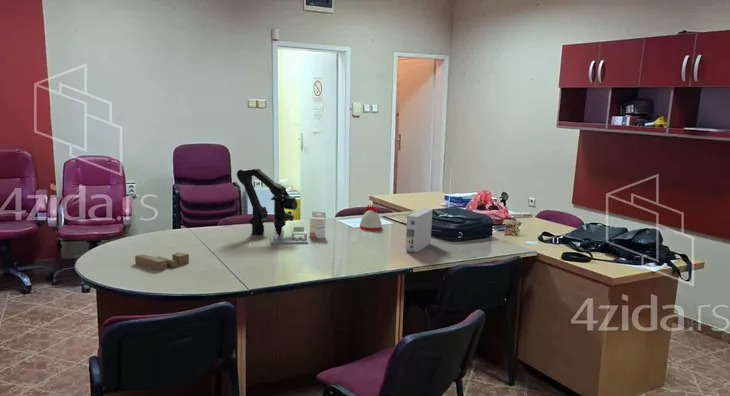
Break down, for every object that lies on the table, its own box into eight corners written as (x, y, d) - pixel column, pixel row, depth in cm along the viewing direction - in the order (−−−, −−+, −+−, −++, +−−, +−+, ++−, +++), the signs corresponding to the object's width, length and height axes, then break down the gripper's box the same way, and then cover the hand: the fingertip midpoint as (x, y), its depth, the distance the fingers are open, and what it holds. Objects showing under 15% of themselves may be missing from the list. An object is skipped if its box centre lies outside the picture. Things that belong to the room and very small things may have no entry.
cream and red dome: (368, 224, 357) (369, 202, 355) (385, 228, 349) (386, 205, 347) (355, 228, 346) (356, 204, 344) (373, 231, 338) (374, 207, 336)
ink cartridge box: (309, 237, 315) (309, 212, 312) (311, 235, 319) (311, 211, 317) (324, 238, 314) (324, 213, 311) (325, 236, 319) (326, 212, 316)
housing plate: (271, 244, 296) (271, 237, 296) (270, 238, 310) (270, 231, 309) (308, 243, 301) (308, 236, 300) (305, 237, 314) (305, 231, 314)
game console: (431, 243, 313) (433, 209, 310) (415, 253, 288) (417, 216, 285) (421, 242, 315) (423, 208, 312) (405, 252, 291) (407, 215, 287)
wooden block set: (159, 260, 240) (134, 253, 250) (159, 272, 241) (134, 265, 250) (190, 252, 254) (165, 246, 264) (190, 264, 255) (165, 257, 265)
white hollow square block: (274, 237, 312) (274, 230, 311) (274, 235, 317) (274, 228, 316) (283, 237, 313) (283, 230, 312) (283, 235, 318) (283, 228, 317)
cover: (292, 238, 306) (292, 229, 305) (291, 235, 312) (291, 226, 311) (306, 238, 307) (307, 229, 306) (305, 235, 314) (305, 226, 313)
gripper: (294, 211, 305) (294, 238, 307) (292, 205, 323) (291, 231, 325) (274, 211, 303) (274, 238, 305) (273, 205, 321) (272, 231, 323)
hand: (278, 234), depth 315 cm, fingers closed on white hollow square block, 5 cm apart
